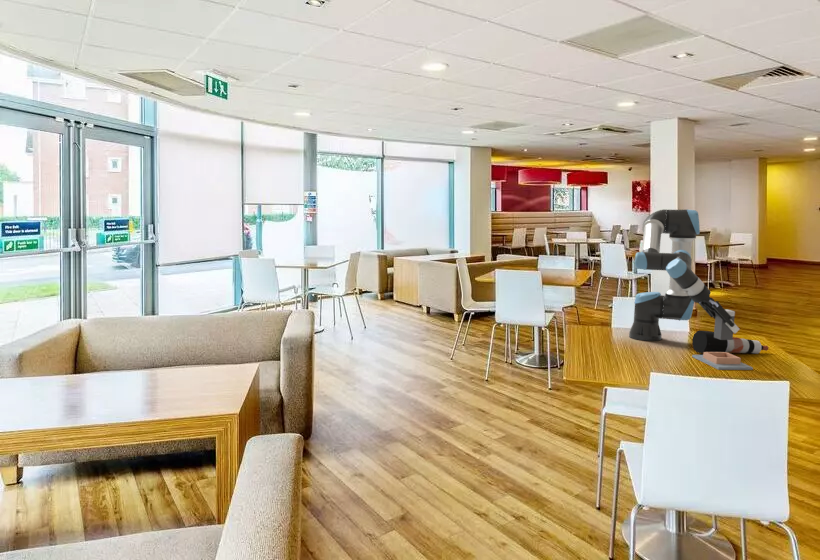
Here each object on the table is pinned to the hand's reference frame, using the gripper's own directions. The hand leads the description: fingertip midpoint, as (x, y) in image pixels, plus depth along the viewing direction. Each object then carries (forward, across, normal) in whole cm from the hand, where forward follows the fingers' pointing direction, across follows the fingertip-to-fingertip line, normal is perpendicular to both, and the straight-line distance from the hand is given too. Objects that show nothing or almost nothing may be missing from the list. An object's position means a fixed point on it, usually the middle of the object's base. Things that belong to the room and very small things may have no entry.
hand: (732, 329), depth 230 cm
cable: (+19, -17, -2) cm, 25 cm away
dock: (+8, 0, -13) cm, 15 cm away
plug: (0, 0, -5) cm, 5 cm away
